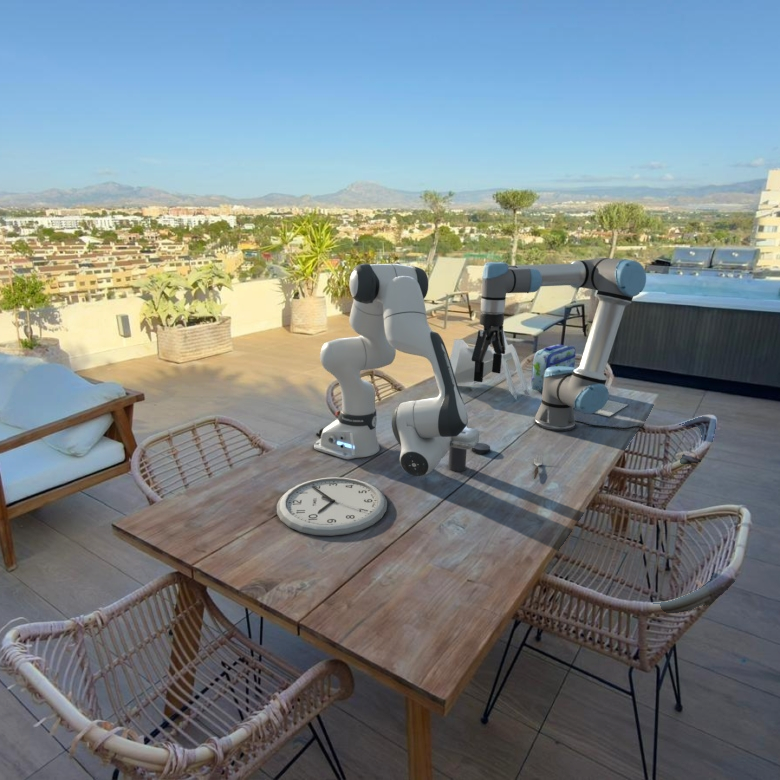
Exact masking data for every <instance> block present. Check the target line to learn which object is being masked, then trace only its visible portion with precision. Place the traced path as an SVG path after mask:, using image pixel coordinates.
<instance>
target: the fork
mask: <svg viewBox="0 0 780 780" xmlns="http://www.w3.org/2000/svg"><path fill="white" fill-rule="evenodd" d="M537 456H539V457H537ZM543 460H544V455H542V454H540V455H539V454H537V455H535V458H534V461H533V464H534V465H535V466H536V467H535V468H534V470H533V471H534V472H533V474H534V475H533V477H534V478H533V479H534V480H536V478H537V475H538V473H539V466H542V465H543Z"/></svg>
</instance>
